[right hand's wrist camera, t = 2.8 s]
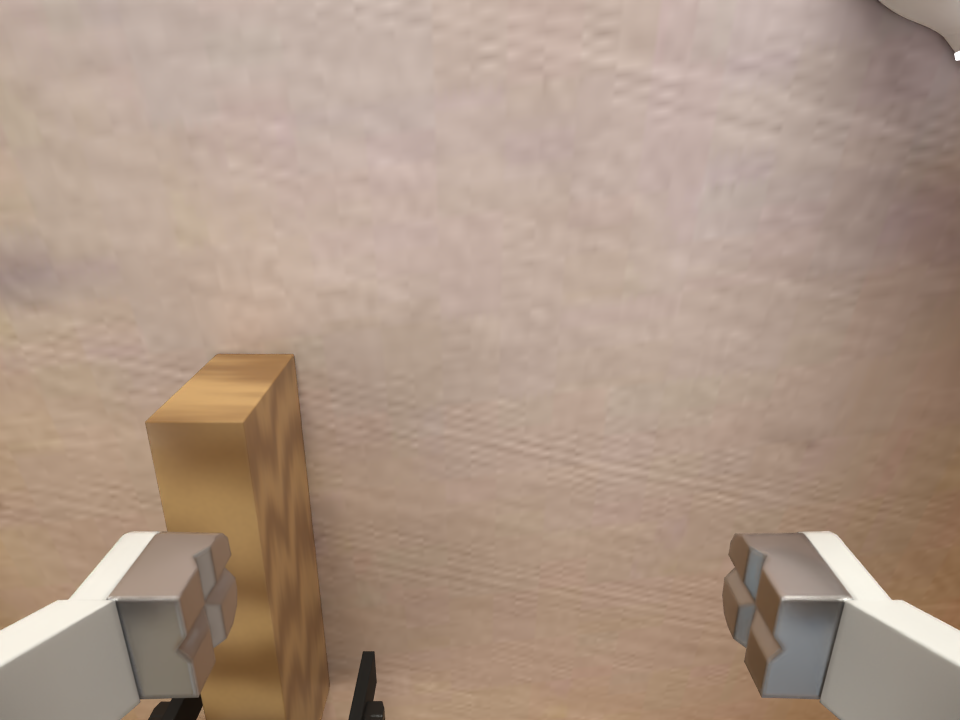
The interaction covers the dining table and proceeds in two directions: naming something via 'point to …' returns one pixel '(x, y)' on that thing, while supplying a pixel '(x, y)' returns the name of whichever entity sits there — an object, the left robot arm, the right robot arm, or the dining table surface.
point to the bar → (249, 529)
